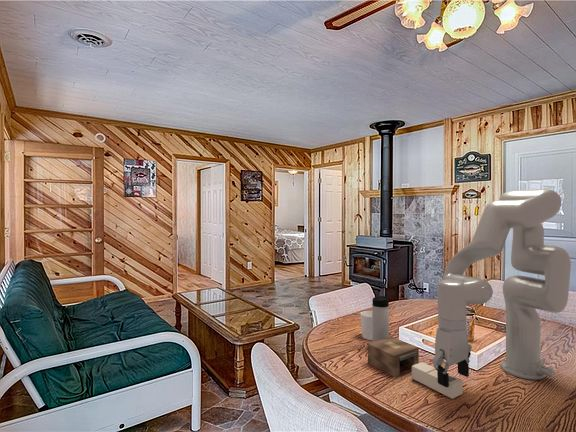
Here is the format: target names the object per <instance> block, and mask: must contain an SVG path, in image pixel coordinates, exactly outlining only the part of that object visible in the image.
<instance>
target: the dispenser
mask: <svg viewBox="0 0 576 432" xmlns="http://www.w3.org/2000/svg"><path fill="white" fill-rule="evenodd" d="M419 349H420V347H418V346H415V345H414V344H411V343H409V342H406V341H404V340H400V339H399V338H396V337H393V336H392V335H391V336H389V337H388V338H384V339H381V340H378V341H374V342H372V341H371V342H368V343H367V364H369V365H371V366H372V367H375V368H376V369H378V370H380V371H381V372H384V373H386V374H387V375H389V376H392V377H393V378H395V377H398V376H400V364H401V365H404V366H406V367H408V368H410V369H412V366H413V365H415V364H418V363H420V361H419V360H420V357H419V356H420V354H419V351H420V350H419Z"/></svg>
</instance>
